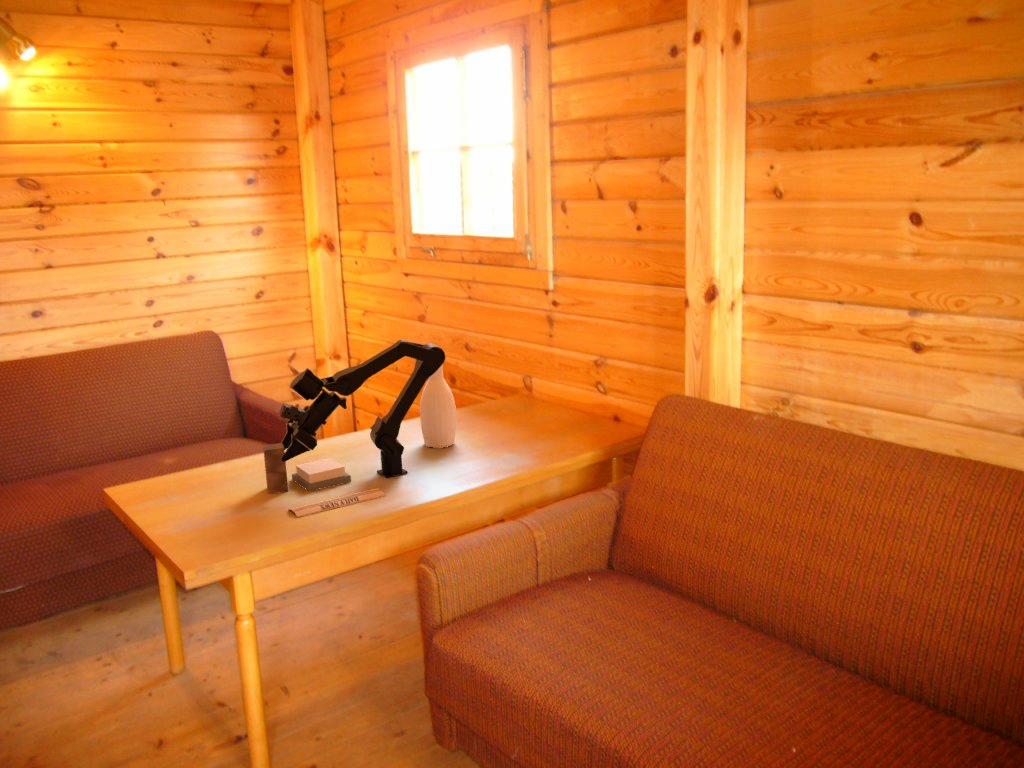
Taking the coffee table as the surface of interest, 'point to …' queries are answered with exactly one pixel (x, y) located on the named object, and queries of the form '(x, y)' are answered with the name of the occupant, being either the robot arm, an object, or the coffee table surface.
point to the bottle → (438, 412)
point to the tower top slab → (320, 470)
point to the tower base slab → (321, 482)
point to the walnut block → (275, 468)
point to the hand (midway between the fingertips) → (280, 455)
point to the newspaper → (337, 502)
